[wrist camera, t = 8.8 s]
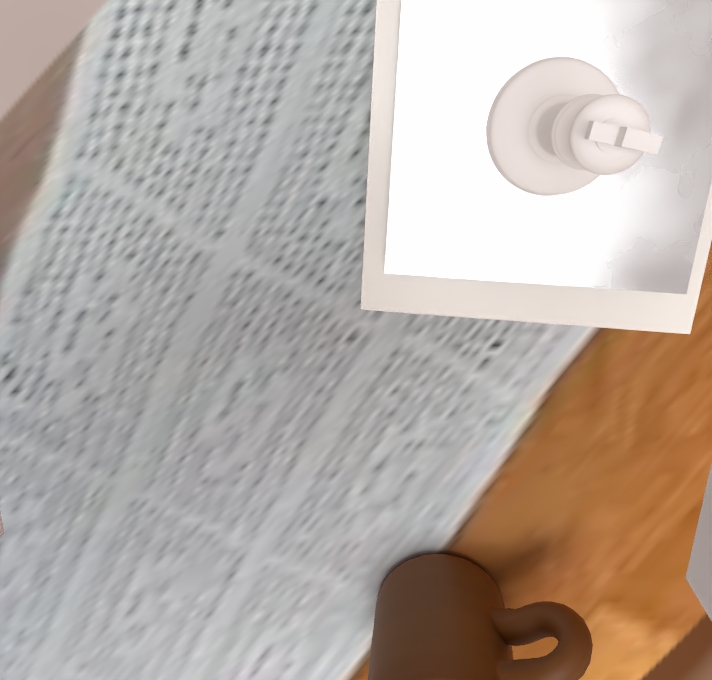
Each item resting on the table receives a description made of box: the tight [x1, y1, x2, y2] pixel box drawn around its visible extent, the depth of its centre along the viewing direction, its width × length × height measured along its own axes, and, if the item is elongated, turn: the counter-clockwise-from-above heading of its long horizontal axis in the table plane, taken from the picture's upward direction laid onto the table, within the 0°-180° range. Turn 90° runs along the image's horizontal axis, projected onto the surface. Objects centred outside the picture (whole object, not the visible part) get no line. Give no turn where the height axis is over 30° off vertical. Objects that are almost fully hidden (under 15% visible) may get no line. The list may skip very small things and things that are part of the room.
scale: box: [360, 0, 712, 334], centre depth 28 cm, size 14×16×5 cm
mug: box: [368, 554, 593, 680], centre depth 35 cm, size 12×8×9 cm, turn 126°
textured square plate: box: [385, 0, 712, 294], centre depth 25 cm, size 12×12×1 cm
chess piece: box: [486, 57, 663, 196], centre depth 20 cm, size 5×5×10 cm
